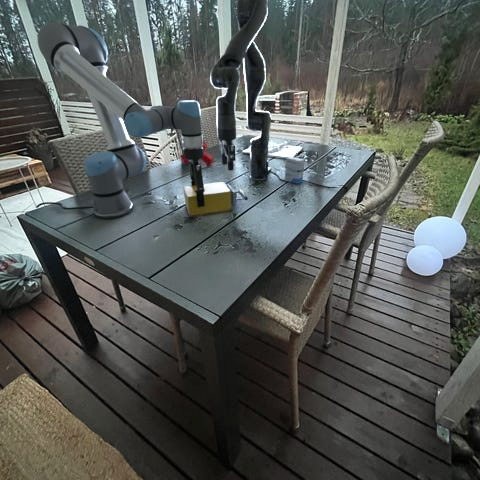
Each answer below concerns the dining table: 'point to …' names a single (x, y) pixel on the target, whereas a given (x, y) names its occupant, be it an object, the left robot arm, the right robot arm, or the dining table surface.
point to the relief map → (280, 150)
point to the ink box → (294, 170)
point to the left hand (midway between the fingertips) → (198, 200)
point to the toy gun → (207, 158)
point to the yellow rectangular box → (208, 199)
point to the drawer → (233, 195)
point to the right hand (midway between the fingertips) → (227, 167)
